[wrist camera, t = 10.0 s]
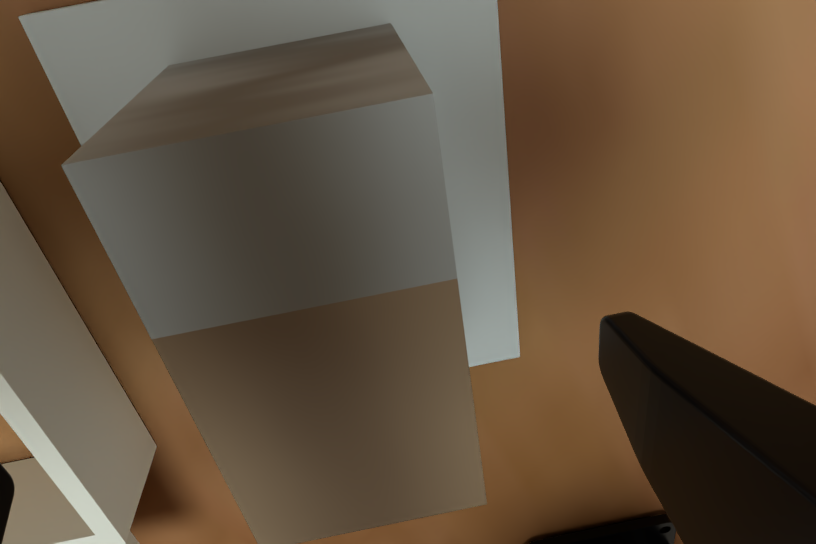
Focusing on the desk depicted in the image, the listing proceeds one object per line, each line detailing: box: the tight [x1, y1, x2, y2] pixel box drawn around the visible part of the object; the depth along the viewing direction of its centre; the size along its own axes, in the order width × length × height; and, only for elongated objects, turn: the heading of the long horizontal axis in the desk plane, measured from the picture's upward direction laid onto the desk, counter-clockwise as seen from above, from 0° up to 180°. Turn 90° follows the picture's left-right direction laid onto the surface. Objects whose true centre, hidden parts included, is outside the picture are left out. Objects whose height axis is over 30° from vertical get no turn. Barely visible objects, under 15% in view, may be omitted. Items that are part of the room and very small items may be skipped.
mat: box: [18, 0, 520, 367], centre depth 15 cm, size 10×12×1 cm
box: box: [61, 23, 487, 544], centre depth 12 cm, size 5×9×6 cm, turn 9°
